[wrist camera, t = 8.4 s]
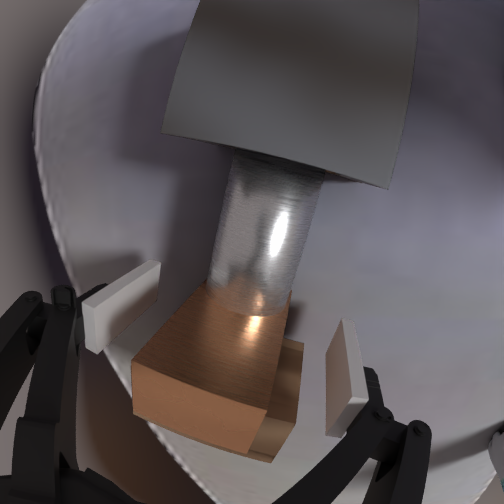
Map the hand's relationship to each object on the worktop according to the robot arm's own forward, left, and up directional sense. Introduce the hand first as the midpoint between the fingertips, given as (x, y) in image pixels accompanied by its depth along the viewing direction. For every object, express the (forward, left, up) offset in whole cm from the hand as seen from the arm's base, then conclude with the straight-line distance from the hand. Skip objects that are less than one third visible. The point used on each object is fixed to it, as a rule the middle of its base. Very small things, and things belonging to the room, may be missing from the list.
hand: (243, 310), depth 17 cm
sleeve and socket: (-6, 0, -3) cm, 6 cm away
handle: (-3, 0, -1) cm, 3 cm away
